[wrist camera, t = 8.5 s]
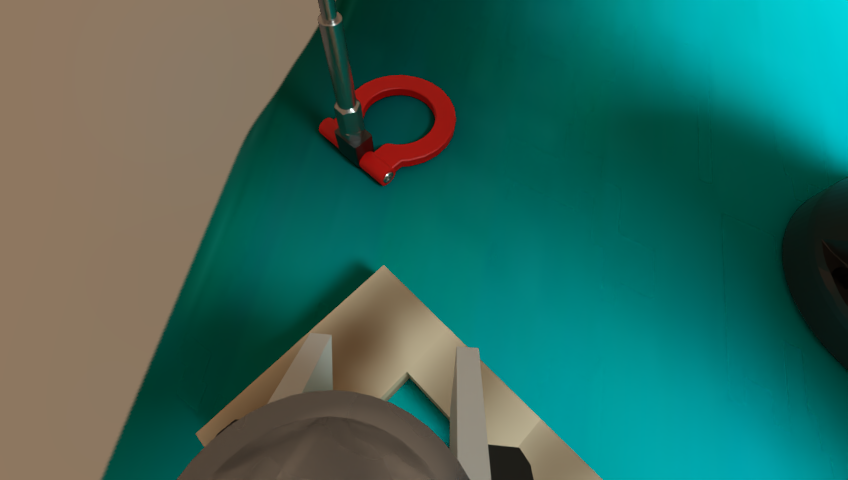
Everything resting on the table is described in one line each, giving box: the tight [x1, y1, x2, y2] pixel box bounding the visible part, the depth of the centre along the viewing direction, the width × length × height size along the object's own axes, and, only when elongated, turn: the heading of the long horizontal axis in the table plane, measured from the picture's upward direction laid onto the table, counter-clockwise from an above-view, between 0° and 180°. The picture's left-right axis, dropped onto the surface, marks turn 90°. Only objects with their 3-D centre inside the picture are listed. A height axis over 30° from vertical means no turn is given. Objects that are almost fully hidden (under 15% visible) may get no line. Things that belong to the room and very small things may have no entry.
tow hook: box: [318, 0, 456, 186], centre depth 25 cm, size 8×13×9 cm
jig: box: [196, 265, 602, 480], centre depth 19 cm, size 16×12×3 cm
